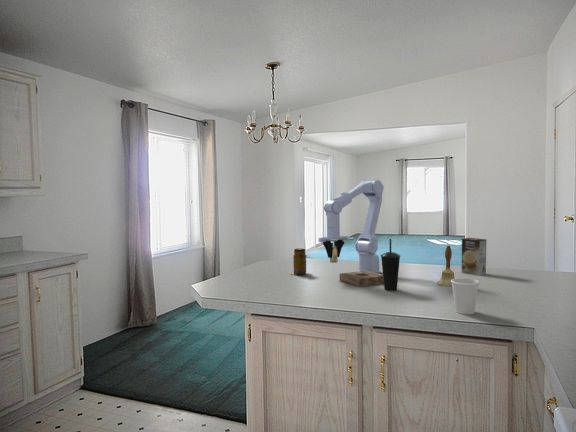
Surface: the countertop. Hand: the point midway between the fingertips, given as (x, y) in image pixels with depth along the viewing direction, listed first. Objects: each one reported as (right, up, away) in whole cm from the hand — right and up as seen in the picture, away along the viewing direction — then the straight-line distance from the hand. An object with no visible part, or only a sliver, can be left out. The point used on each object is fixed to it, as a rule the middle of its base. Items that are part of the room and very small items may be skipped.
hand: (333, 257), depth 192 cm
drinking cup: (+20, -11, -24) cm, 33 cm away
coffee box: (+65, -8, +5) cm, 66 cm away
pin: (0, -2, 0) cm, 2 cm away
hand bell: (+45, -10, -16) cm, 49 cm away
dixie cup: (+36, -12, -56) cm, 68 cm away
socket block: (+11, -10, -8) cm, 17 cm away
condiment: (-14, -9, +11) cm, 20 cm away
